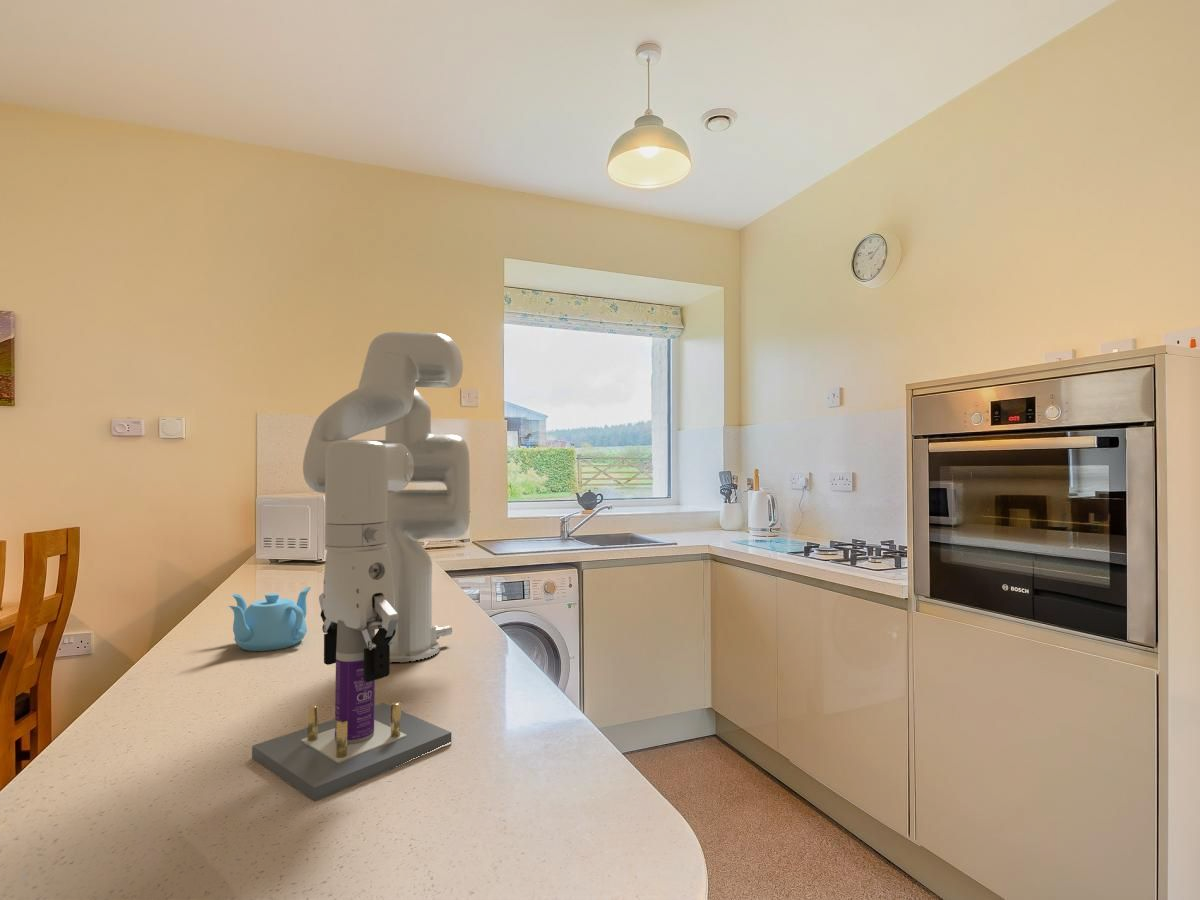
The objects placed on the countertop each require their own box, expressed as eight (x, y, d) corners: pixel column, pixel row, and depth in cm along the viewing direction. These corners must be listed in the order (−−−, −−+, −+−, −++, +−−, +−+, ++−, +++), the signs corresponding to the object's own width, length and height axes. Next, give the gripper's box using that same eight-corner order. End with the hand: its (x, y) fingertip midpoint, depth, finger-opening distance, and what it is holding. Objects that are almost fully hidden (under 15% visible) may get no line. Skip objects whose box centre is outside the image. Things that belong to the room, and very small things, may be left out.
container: (360, 746, 76) (362, 622, 76) (326, 742, 77) (328, 621, 77) (381, 730, 81) (382, 614, 81) (349, 727, 81) (350, 612, 82)
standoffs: (367, 718, 84) (367, 688, 85) (402, 735, 79) (402, 703, 79) (305, 739, 78) (305, 707, 78) (339, 759, 73) (339, 724, 73)
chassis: (383, 713, 90) (383, 701, 91) (451, 744, 80) (451, 730, 80) (251, 757, 77) (252, 744, 77) (314, 801, 66) (314, 785, 66)
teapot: (310, 650, 123) (311, 597, 123) (221, 659, 116) (223, 604, 116) (310, 632, 136) (311, 585, 136) (230, 640, 129) (232, 590, 130)
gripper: (421, 539, 77) (420, 677, 77) (349, 528, 88) (348, 649, 88) (365, 545, 71) (364, 695, 71) (295, 533, 82) (294, 663, 82)
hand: (355, 669), depth 79 cm, fingers open, 9 cm apart
